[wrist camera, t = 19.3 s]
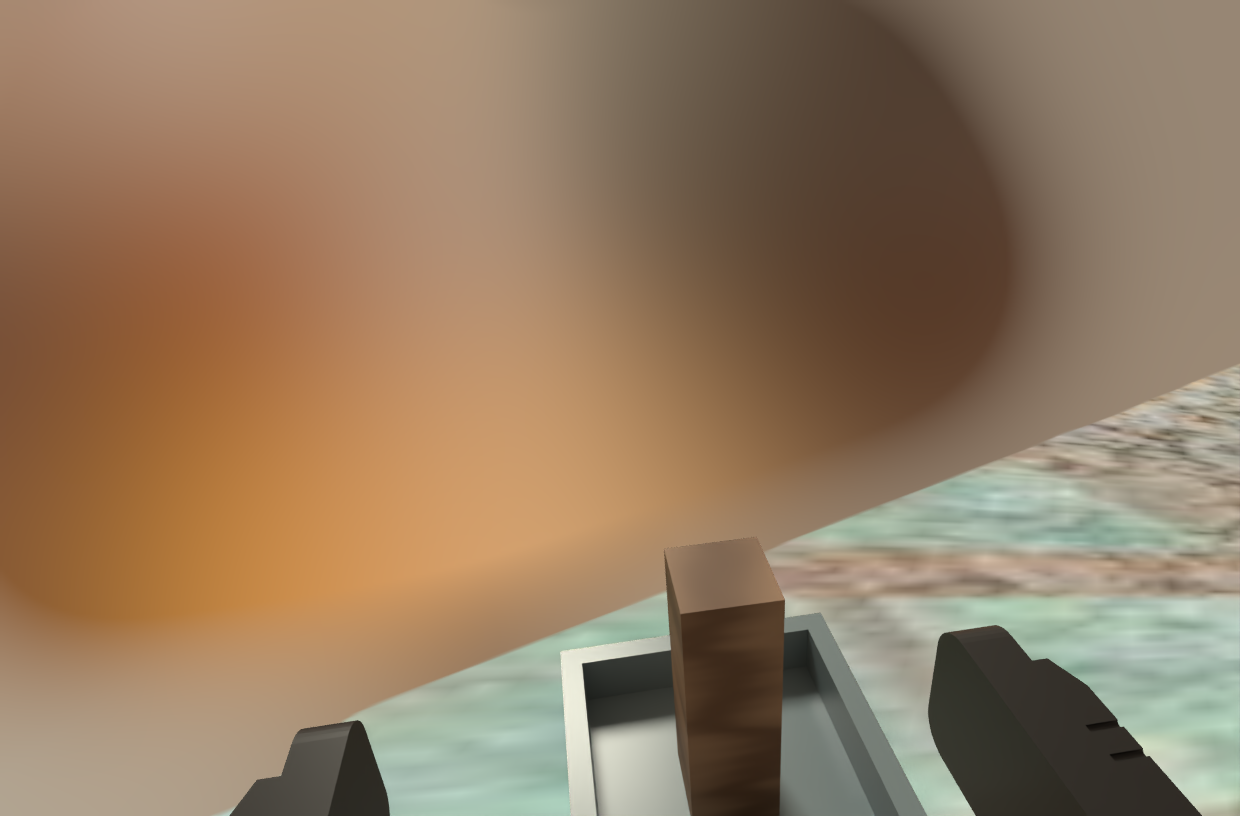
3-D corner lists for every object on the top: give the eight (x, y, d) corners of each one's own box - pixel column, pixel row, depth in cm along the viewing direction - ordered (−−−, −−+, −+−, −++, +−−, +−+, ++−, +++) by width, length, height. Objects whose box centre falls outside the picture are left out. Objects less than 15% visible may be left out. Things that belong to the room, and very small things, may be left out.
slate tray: (817, 660, 47) (820, 612, 45) (946, 929, 33) (957, 874, 31) (568, 699, 46) (560, 651, 44) (588, 994, 32) (578, 941, 30)
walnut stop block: (756, 741, 41) (756, 536, 35) (779, 815, 37) (784, 599, 31) (677, 752, 41) (663, 548, 34) (692, 828, 37) (680, 613, 30)
